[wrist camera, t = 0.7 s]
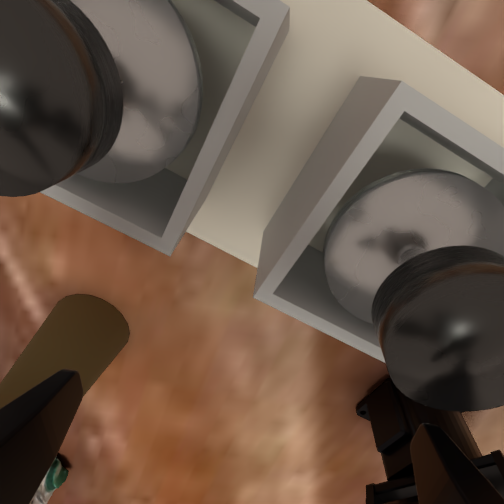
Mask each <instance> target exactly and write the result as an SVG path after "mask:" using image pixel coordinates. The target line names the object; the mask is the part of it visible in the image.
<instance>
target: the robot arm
mask: <svg viewBox="0 0 504 504" xmlns="http://www.w3.org/2000/svg"><path fill="white" fill-rule="evenodd" d="M82 398H83V386H82V381H81V377H80V373H79V372H78V371H77V370H72V369H61V370H59V371H58V372H56V373H54V374H53V375H51V376H50V377H48V378H47V379H45V380H44V381H42V382H41V383H39V384H37V385H36V386H34V387H33V388H31V389H30V390H28V391H27V392H25V393H24V394H22V395H20V396H19V397H17V398H16V399H14V400H13V401H11V402H10V403H8V404H7V405H5V406H3V407H2V408H0V504H30V502H31V500H32V498H33V497H34V495H35V493H36V491H37V490H38V488H39V486H40V484H41V483H42V481H43V479H44V477H45V476H46V474H47V472H48V470H49V469H50V467H51V465H52V463H53V461H54V459H55V457H56V455H57V453H58V451H59V449H60V447H61V445H62V443H63V440H64V438H65V436H66V434H67V432H68V429H69V427H70V425H71V423H72V421H73V418H74V416H75V414H76V412H77V409H78V407H79V405H80V403H81V401H82ZM462 412H464V411H447V410H440V409H435V408H431V407H428V406H425V405H422V404H420V403H417V402H415V401H414V400H412V399H410V398H409V397H407V396H406V395H405V394H403V393H402V392H401V391H400V390H399V389H398V388H397V387H396V385H395V384H394V383H393V381H392V379H391V377H390V378H389V379H387V380H386V381H385V382H384V383H383V384H382V385H380V386H379V387H378V388H377V389H376V390H375V391H374V392H372V393H371V394H370V395H369V396H368V397H367V398H366V399H364V400H363V401H362V402H361V403H360V404H359V405H358V406H357V407H356V413H357V415H358V416H360V417H362V418H365V419H367V420H369V421H371V425H372V430H373V434H374V438H375V443H376V447H377V450H378V452H380V453H381V456H382V460H383V464H384V468H385V472H386V476H387V481H386V482H383V483H379V484H374V483H372V484H369V485H366V504H504V455H503V454H502V452H501V451H500V450H497V451H493V452H491V454H489V455H485V456H482V454H481V452H480V450H479V448H478V446H477V444H476V442H475V440H474V438H473V436H472V434H471V432H470V430H469V428H468V426H467V424H466V422H465V420H464V418H463V416H462V414H461V413H462Z"/></svg>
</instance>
